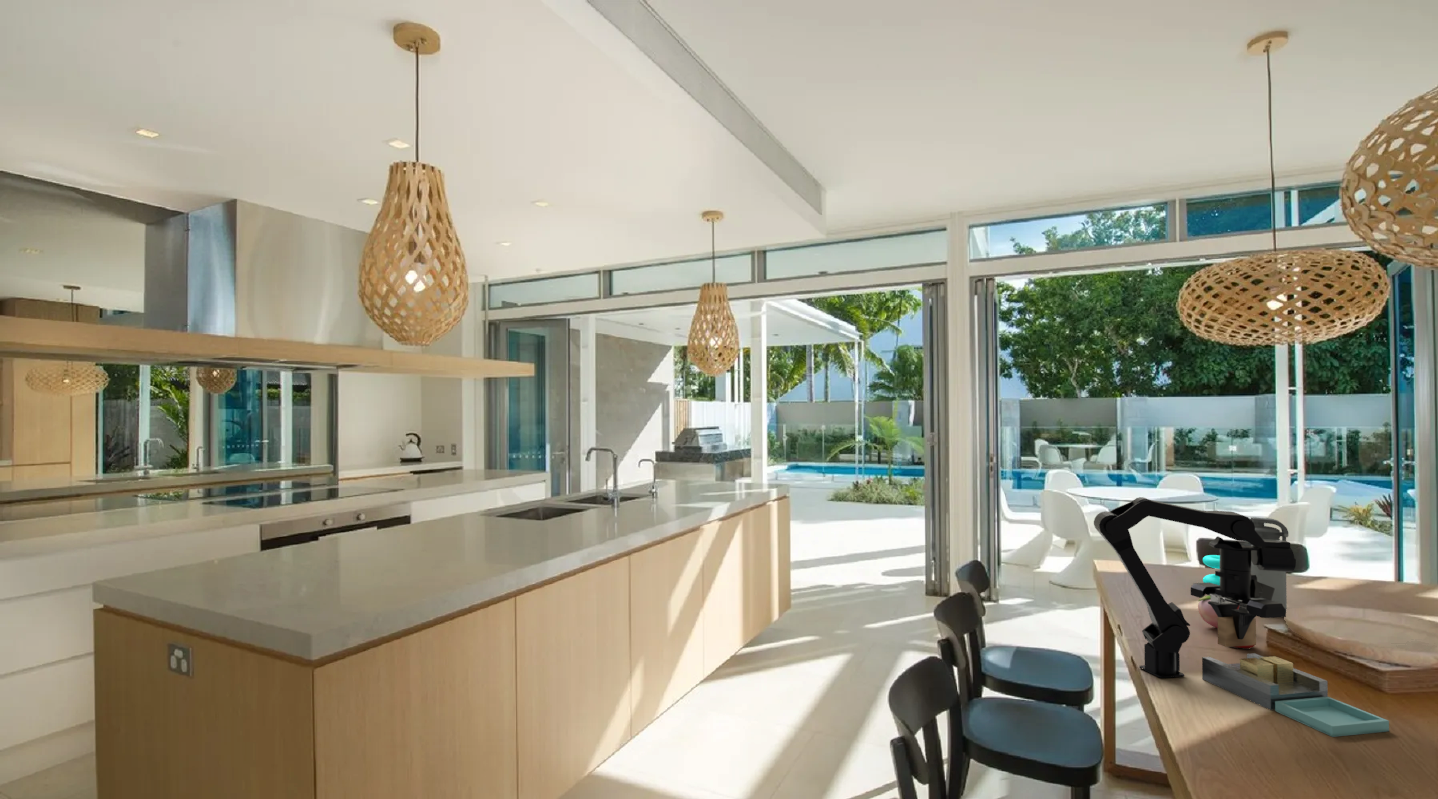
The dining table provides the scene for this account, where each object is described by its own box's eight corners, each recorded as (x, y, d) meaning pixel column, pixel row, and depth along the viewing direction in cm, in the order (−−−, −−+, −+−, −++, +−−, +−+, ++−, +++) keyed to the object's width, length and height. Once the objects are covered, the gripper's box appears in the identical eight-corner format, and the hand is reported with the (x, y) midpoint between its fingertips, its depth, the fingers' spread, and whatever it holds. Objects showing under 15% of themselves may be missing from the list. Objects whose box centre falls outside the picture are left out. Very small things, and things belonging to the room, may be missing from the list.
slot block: (1270, 710, 138) (1270, 685, 138) (1202, 679, 154) (1202, 657, 154) (1327, 705, 141) (1327, 680, 141) (1254, 675, 156) (1254, 653, 157)
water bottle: (1285, 609, 207) (1284, 518, 207) (1291, 618, 198) (1290, 522, 199) (1243, 604, 212) (1242, 515, 213) (1247, 612, 204) (1246, 519, 204)
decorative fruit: (1225, 624, 193) (1224, 589, 193) (1244, 633, 185) (1244, 597, 185) (1190, 623, 194) (1190, 588, 194) (1208, 632, 186) (1207, 596, 186)
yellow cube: (1277, 683, 145) (1277, 664, 145) (1259, 675, 149) (1259, 657, 149) (1293, 681, 145) (1293, 663, 145) (1275, 674, 149) (1274, 656, 149)
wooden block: (1225, 646, 152) (1225, 620, 152) (1217, 643, 154) (1217, 617, 154) (1256, 645, 153) (1255, 618, 153) (1247, 642, 155) (1247, 615, 155)
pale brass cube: (1257, 684, 144) (1257, 665, 144) (1240, 677, 148) (1239, 658, 148) (1273, 683, 144) (1273, 664, 144) (1255, 676, 148) (1255, 657, 148)
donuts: (1227, 554, 238) (1245, 561, 228) (1228, 583, 238) (1245, 590, 228) (1196, 553, 240) (1212, 560, 230) (1197, 582, 240) (1212, 589, 230)
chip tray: (1332, 737, 127) (1332, 726, 127) (1275, 711, 138) (1275, 701, 138) (1389, 731, 129) (1388, 720, 129) (1328, 706, 140) (1328, 696, 140)
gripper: (1307, 577, 146) (1307, 649, 146) (1228, 558, 164) (1228, 622, 164) (1263, 579, 144) (1263, 653, 144) (1188, 559, 162) (1188, 625, 162)
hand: (1235, 637), depth 154 cm, fingers closed on wooden block, 2 cm apart
